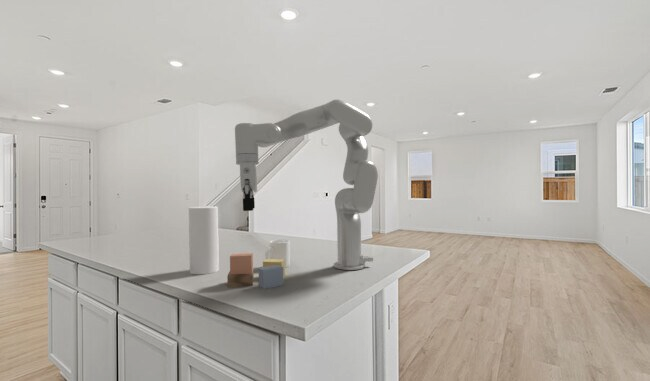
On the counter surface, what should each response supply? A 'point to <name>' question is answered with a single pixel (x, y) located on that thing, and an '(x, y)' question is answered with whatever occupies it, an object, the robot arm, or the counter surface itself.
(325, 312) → the counter surface
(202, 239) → the tall pillar cylinder
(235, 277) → the walnut block
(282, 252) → the mug
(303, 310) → the counter surface
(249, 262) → the terracotta brick
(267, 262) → the mustard brick
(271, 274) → the slate brick
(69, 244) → the counter surface
